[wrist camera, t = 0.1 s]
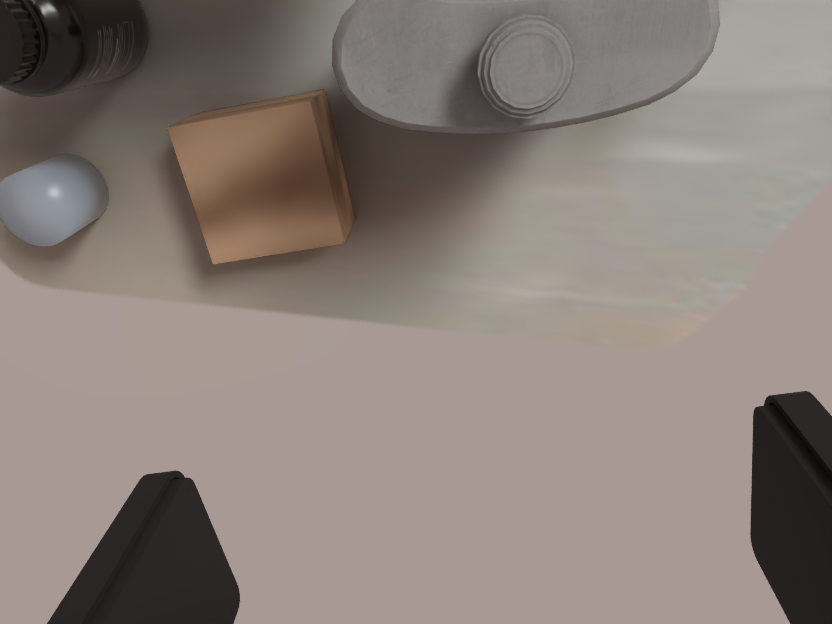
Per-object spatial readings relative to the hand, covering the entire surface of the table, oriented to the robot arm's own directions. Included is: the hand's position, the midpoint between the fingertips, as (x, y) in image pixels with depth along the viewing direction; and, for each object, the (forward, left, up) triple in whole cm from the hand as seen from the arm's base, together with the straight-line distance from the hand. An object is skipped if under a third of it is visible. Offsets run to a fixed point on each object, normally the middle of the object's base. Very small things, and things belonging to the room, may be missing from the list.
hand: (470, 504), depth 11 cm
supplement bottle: (-10, -22, -37) cm, 44 cm away
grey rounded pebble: (0, -28, -37) cm, 46 cm away
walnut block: (+1, -13, -37) cm, 39 cm away
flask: (-5, +3, -37) cm, 37 cm away
